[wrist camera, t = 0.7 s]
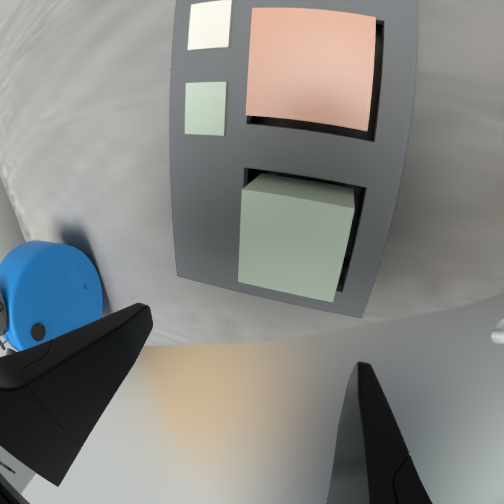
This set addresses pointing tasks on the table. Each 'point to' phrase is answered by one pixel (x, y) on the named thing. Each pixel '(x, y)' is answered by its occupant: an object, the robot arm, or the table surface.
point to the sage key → (294, 235)
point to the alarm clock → (46, 293)
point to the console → (277, 143)
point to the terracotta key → (311, 66)
